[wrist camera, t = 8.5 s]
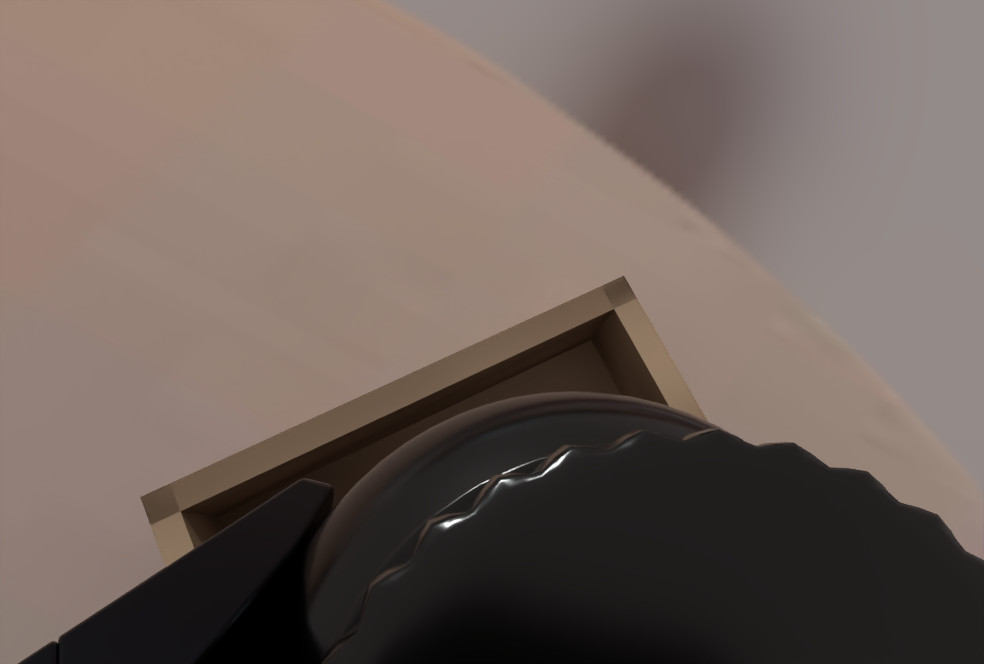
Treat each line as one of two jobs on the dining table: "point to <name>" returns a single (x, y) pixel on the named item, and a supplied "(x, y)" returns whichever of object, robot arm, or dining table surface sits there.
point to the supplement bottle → (622, 551)
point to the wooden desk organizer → (430, 410)
